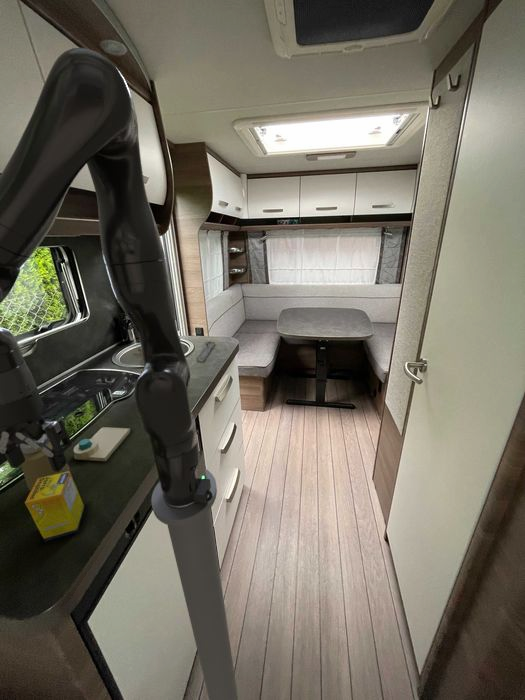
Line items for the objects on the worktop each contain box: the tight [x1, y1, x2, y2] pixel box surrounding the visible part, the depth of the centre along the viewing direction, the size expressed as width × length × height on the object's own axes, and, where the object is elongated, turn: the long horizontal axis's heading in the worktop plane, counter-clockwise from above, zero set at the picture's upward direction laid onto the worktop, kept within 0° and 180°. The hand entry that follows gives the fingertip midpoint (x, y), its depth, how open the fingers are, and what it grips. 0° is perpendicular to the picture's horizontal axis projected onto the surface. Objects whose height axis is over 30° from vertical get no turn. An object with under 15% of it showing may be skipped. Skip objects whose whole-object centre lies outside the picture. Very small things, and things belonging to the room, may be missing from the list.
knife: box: [198, 341, 215, 363], centre depth 141 cm, size 25×1×5 cm
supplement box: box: [24, 470, 85, 542], centre depth 56 cm, size 6×6×11 cm
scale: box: [73, 426, 131, 462], centre depth 79 cm, size 13×9×3 cm
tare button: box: [78, 438, 91, 450], centre depth 75 cm, size 3×3×2 cm
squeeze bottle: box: [19, 434, 70, 492], centre depth 63 cm, size 8×8×18 cm
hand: (39, 466), depth 52 cm, fingers open, 8 cm apart
